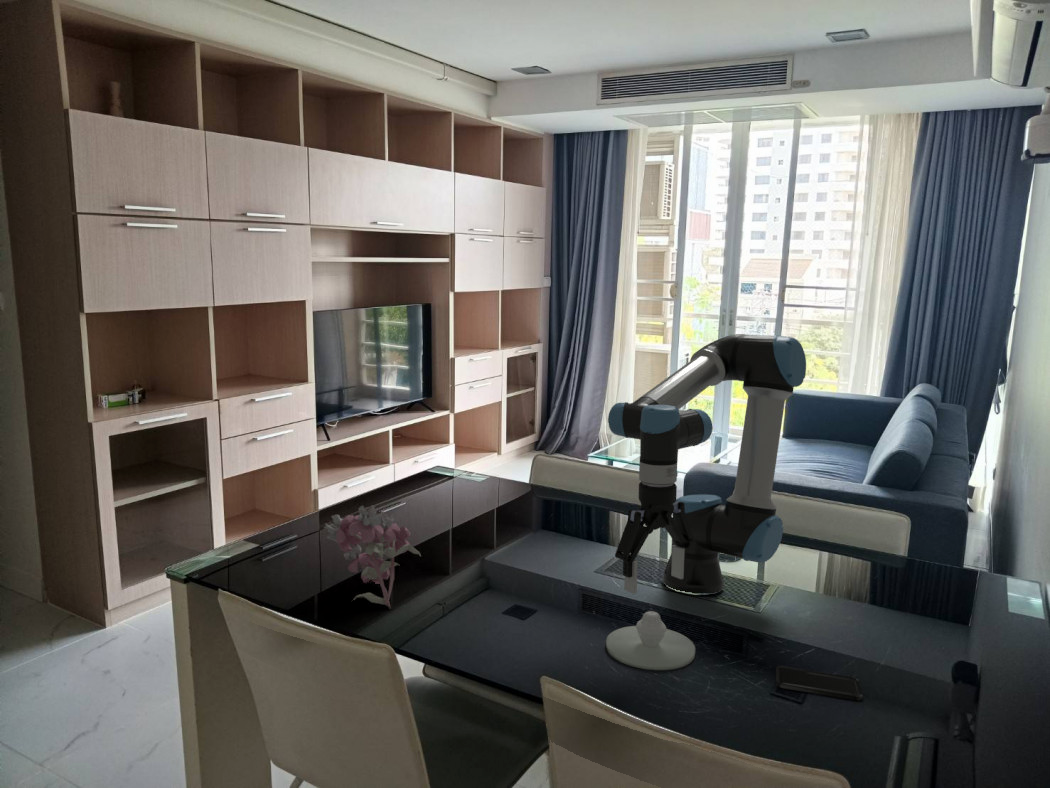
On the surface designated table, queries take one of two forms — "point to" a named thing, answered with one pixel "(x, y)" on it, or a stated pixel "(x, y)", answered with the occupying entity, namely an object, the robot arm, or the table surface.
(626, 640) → the ceramic plate
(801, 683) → the phone
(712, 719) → the table surface
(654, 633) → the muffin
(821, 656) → the table surface
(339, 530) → the flower
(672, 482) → the robot arm
